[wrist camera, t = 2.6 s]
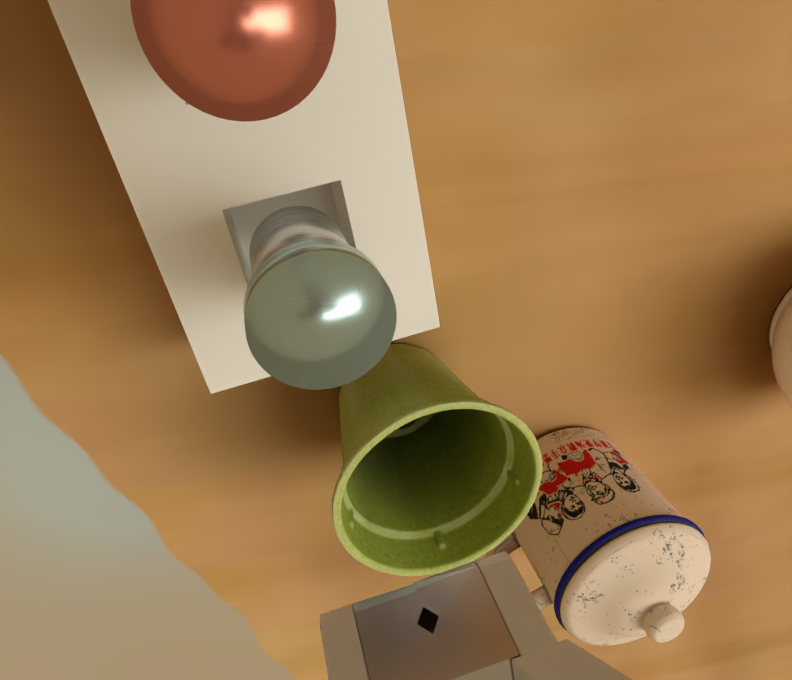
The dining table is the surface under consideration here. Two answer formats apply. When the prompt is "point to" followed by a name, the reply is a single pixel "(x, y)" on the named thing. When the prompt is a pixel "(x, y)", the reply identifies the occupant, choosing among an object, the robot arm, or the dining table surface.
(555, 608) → the printed white mug
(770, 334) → the lidded bowl
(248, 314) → the plug
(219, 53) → the brick-red plug
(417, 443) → the plant pot
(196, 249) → the block
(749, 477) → the dining table surface
